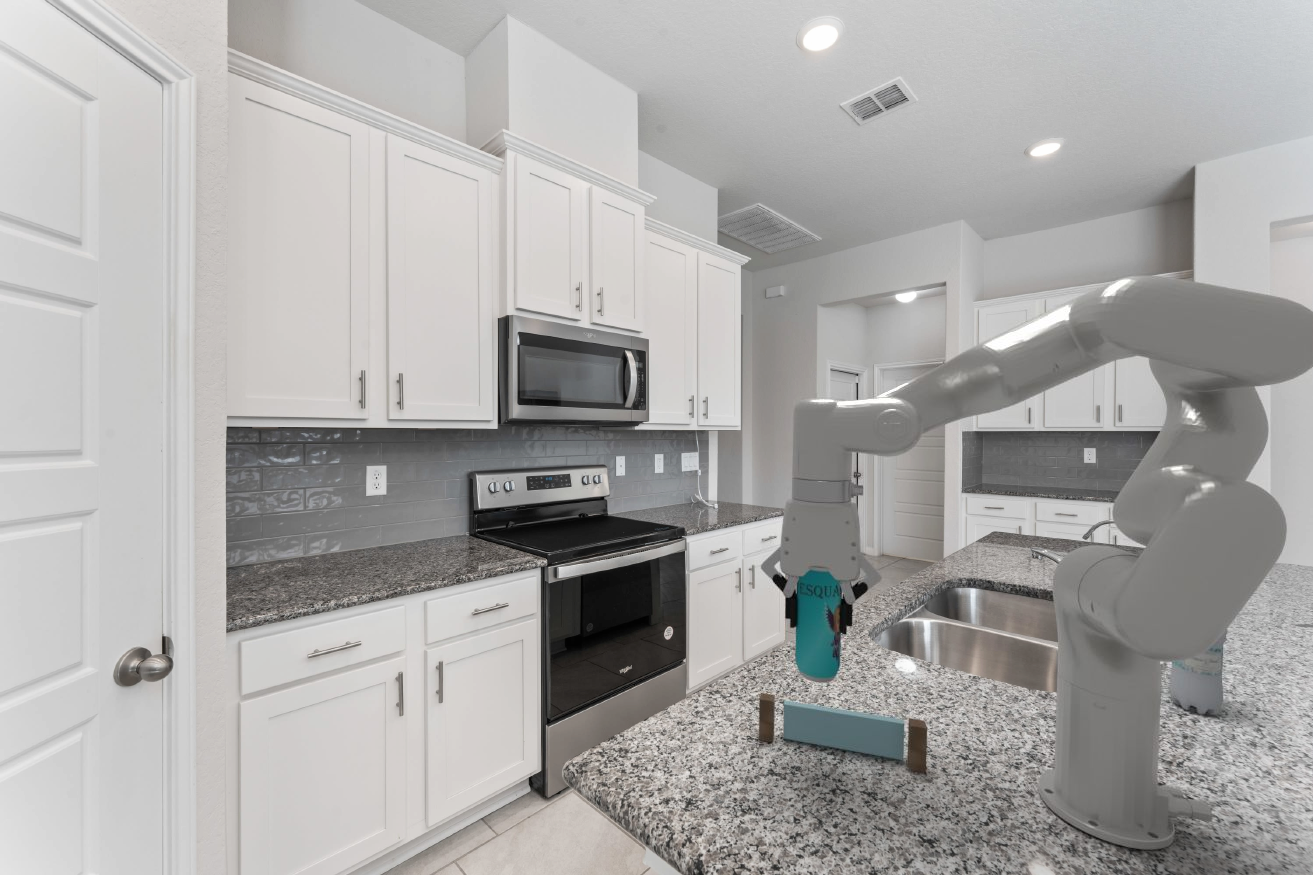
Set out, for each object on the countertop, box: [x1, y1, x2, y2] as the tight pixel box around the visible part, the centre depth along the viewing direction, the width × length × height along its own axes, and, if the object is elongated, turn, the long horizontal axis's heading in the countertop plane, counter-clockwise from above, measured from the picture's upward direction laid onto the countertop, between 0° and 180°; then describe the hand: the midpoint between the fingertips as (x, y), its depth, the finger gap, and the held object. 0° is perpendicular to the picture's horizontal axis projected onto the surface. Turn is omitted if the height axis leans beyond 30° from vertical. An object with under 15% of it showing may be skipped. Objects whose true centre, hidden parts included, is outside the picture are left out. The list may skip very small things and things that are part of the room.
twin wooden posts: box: [758, 692, 928, 774], centre depth 77 cm, size 22×2×6 cm, turn 72°
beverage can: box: [794, 566, 843, 683], centre depth 73 cm, size 6×6×15 cm
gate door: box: [782, 699, 905, 761], centre depth 77 cm, size 16×1×5 cm, turn 72°
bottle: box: [1168, 629, 1229, 716], centre depth 90 cm, size 7×7×20 cm
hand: (818, 626), depth 73 cm, fingers closed on beverage can, 5 cm apart
